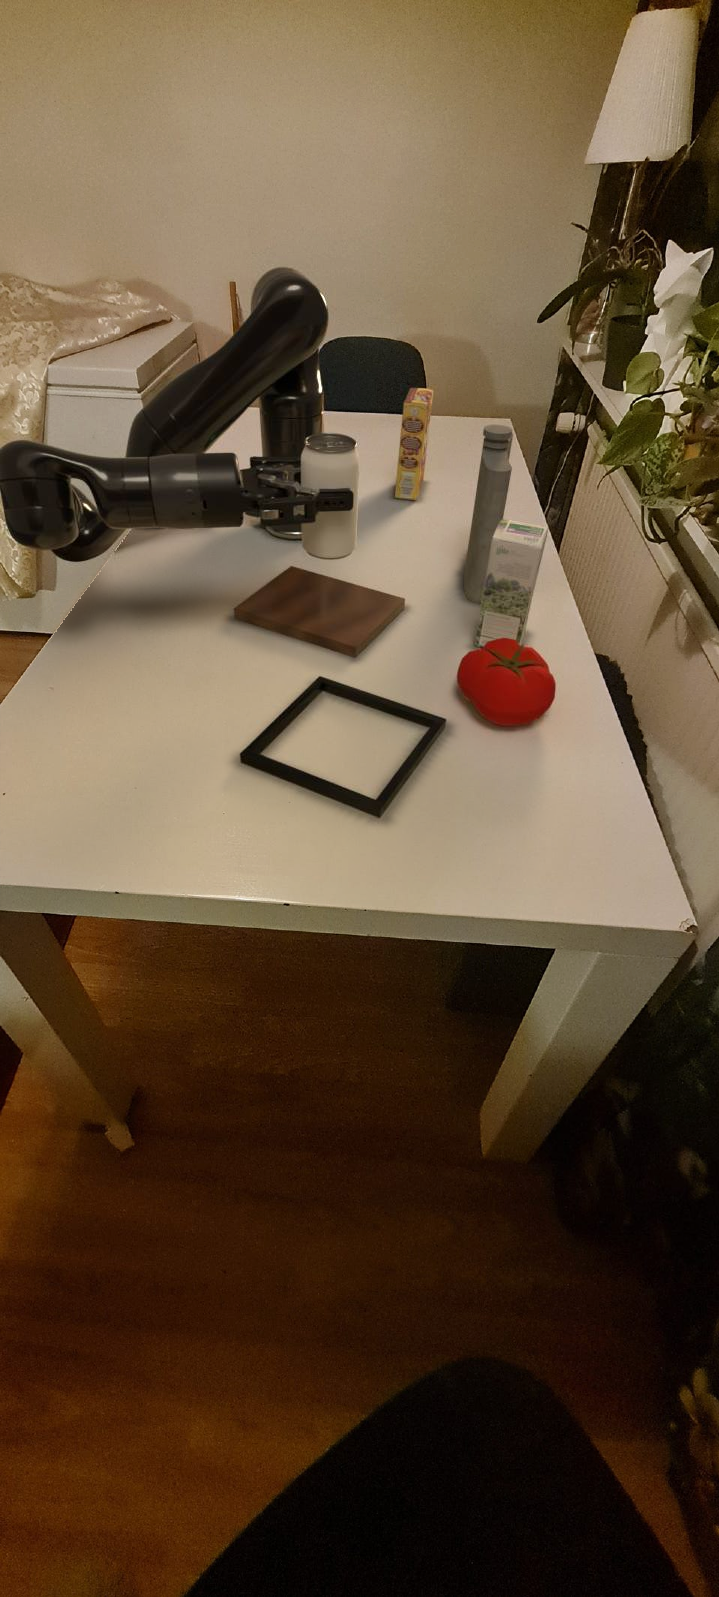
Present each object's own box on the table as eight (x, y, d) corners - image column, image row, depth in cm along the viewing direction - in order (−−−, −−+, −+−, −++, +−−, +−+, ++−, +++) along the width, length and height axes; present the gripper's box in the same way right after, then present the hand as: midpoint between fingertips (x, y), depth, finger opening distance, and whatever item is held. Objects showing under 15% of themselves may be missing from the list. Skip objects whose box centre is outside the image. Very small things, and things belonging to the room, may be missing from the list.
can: (300, 535, 86) (299, 430, 78) (353, 535, 87) (357, 431, 78) (302, 561, 82) (301, 452, 73) (358, 560, 83) (363, 453, 74)
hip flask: (488, 604, 97) (515, 450, 83) (459, 600, 98) (481, 447, 84) (492, 553, 109) (516, 410, 95) (465, 550, 109) (486, 407, 95)
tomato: (489, 744, 76) (500, 694, 71) (441, 687, 83) (448, 639, 78) (565, 723, 79) (579, 674, 74) (512, 671, 86) (522, 623, 81)
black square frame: (240, 762, 72) (239, 753, 71) (319, 683, 83) (319, 675, 82) (379, 818, 67) (380, 809, 66) (445, 727, 77) (446, 718, 77)
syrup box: (525, 633, 92) (550, 523, 82) (517, 657, 88) (542, 544, 78) (482, 624, 93) (501, 515, 83) (472, 647, 89) (491, 535, 79)
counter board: (234, 618, 92) (233, 608, 91) (291, 575, 101) (291, 565, 100) (355, 657, 87) (355, 647, 86) (404, 608, 96) (405, 598, 95)
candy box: (418, 501, 122) (427, 403, 111) (394, 498, 123) (400, 401, 112) (425, 482, 128) (434, 388, 118) (401, 480, 129) (408, 386, 118)
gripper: (199, 500, 85) (336, 495, 87) (202, 554, 75) (357, 547, 77) (191, 432, 79) (337, 430, 82) (193, 480, 69) (360, 476, 72)
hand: (346, 486), depth 80 cm, fingers closed on can, 6 cm apart
